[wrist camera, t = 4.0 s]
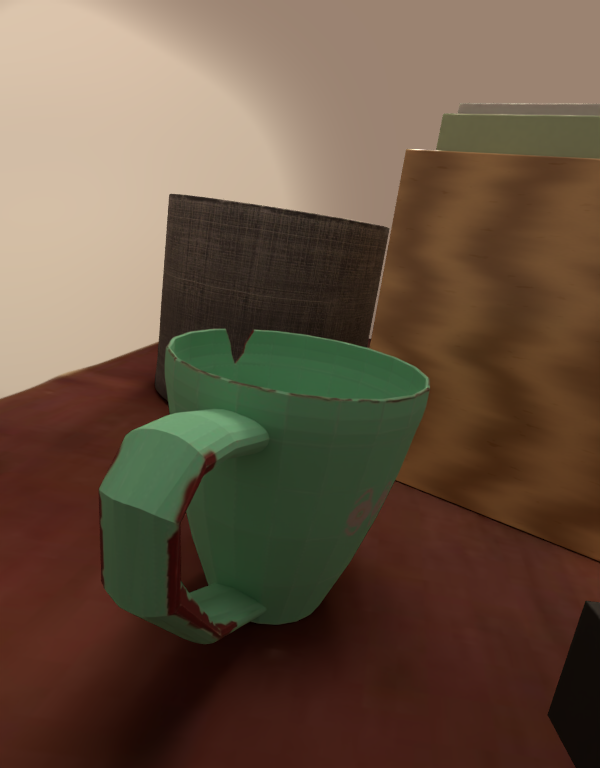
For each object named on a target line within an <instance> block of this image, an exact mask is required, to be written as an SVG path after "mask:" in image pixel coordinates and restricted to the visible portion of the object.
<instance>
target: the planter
mask: <svg viewBox="0 0 600 768" xmlns="http://www.w3.org/2000/svg"><path fill="white" fill-rule="evenodd" d="M167 220H168V221H167V234H166V247H165V260H164V275H163V289H162V302H161V317H160V334H159V346H158V360H157V369H156V375H155V388H156V390H157V392H158V393H159V394H160V395H161V396H162V397H163V398H164V399H166V400H167V401H168V396H167V388H166V381H165V353H166V347H167V345H168V344H169V342H170V340H171V339H172V338H173V337H176V336H179V335H182V334H185V333H187V332H191V331H200V330H208V329H226V331H227V334H228V337H229V340H230V343H231V352H232V356H233V359H234V363H235V362H236V361H237V359H238V358H239V357H240V356H241V354H242V352H243V348H244V344H245V342H246V341H247V339H248V337H249V336H250V334H251V332H252V331H253V330H271V331H281V332H289V333H297V334H304V335H311V336H316V337H321V338H327V339H332V340H338V341H342V342H346V343H350V344H354V345H358V346H362V347H366V348H367V343H368V338H369V333H370V328H371V323H372V318H373V312H374V307H375V302H376V297H377V291H378V286H379V281H380V276H381V270H382V265H383V260H384V254H385V249H386V244H387V239H388V233H389V228H387V227H384V226H380V225H375V224H369V223H364V222H360V221H354V220H349V219H343V218H337V217H331V216H325V215H319V214H313V213H307V212H301V211H295V210H288V209H282V208H275V207H269V206H262V205H256V204H249V203H242V202H235V201H228V200H221V199H213V198H205V197H198V196H190V195H180V194H170V195H169V206H168V219H167Z"/></svg>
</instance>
